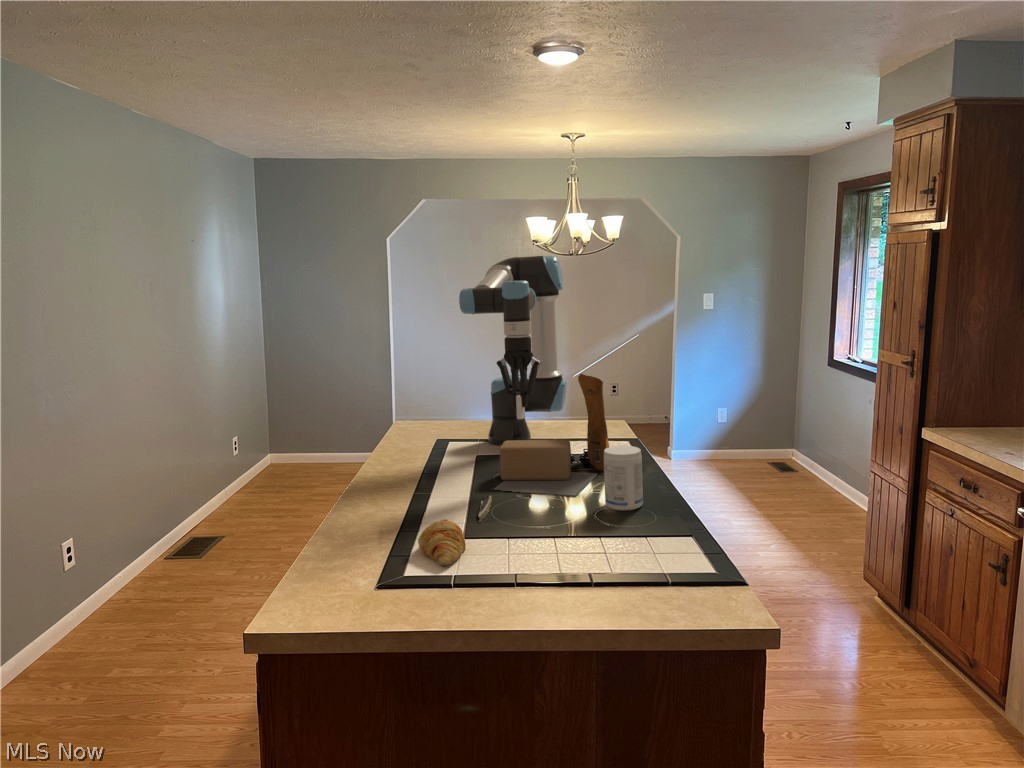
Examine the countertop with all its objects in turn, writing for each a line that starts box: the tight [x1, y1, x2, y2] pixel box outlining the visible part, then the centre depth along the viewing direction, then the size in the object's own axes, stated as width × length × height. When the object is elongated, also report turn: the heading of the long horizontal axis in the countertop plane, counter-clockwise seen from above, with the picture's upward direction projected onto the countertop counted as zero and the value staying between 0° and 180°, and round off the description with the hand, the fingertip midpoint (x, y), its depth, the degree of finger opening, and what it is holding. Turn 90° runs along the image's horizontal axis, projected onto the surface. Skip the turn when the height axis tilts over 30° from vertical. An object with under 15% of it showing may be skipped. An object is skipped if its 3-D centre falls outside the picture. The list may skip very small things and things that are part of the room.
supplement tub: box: [603, 445, 644, 512], centre depth 190 cm, size 10×10×15 cm
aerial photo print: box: [478, 494, 532, 523], centre depth 192 cm, size 25×19×2 cm
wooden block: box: [499, 439, 572, 482], centre depth 219 cm, size 10×10×20 cm
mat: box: [493, 471, 598, 498], centre depth 215 cm, size 22×24×1 cm
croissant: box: [417, 519, 467, 567], centre depth 165 cm, size 21×10×8 cm, turn 11°
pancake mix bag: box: [577, 373, 610, 472], centre depth 230 cm, size 7×19×28 cm, turn 8°
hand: (521, 418), depth 215 cm, fingers closed
